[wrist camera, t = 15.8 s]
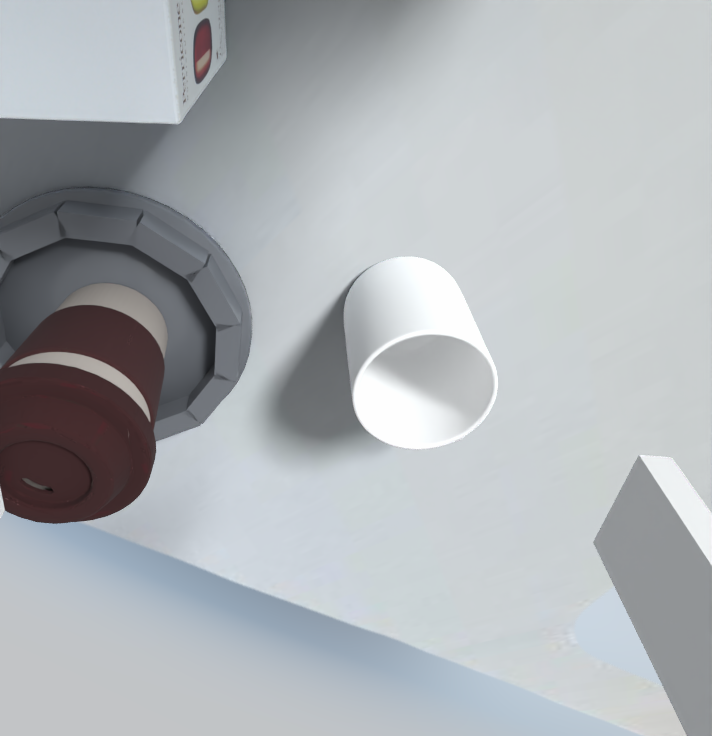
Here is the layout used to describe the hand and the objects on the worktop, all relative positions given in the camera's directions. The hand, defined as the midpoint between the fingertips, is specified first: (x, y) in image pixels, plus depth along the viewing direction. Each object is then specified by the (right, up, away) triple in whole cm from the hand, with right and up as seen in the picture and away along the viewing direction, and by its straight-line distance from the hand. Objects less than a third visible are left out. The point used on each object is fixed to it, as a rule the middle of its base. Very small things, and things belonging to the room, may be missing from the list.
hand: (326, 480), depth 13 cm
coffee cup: (-16, +5, +31) cm, 35 cm away
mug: (+5, +6, +34) cm, 35 cm away
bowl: (-16, +6, +32) cm, 36 cm away
